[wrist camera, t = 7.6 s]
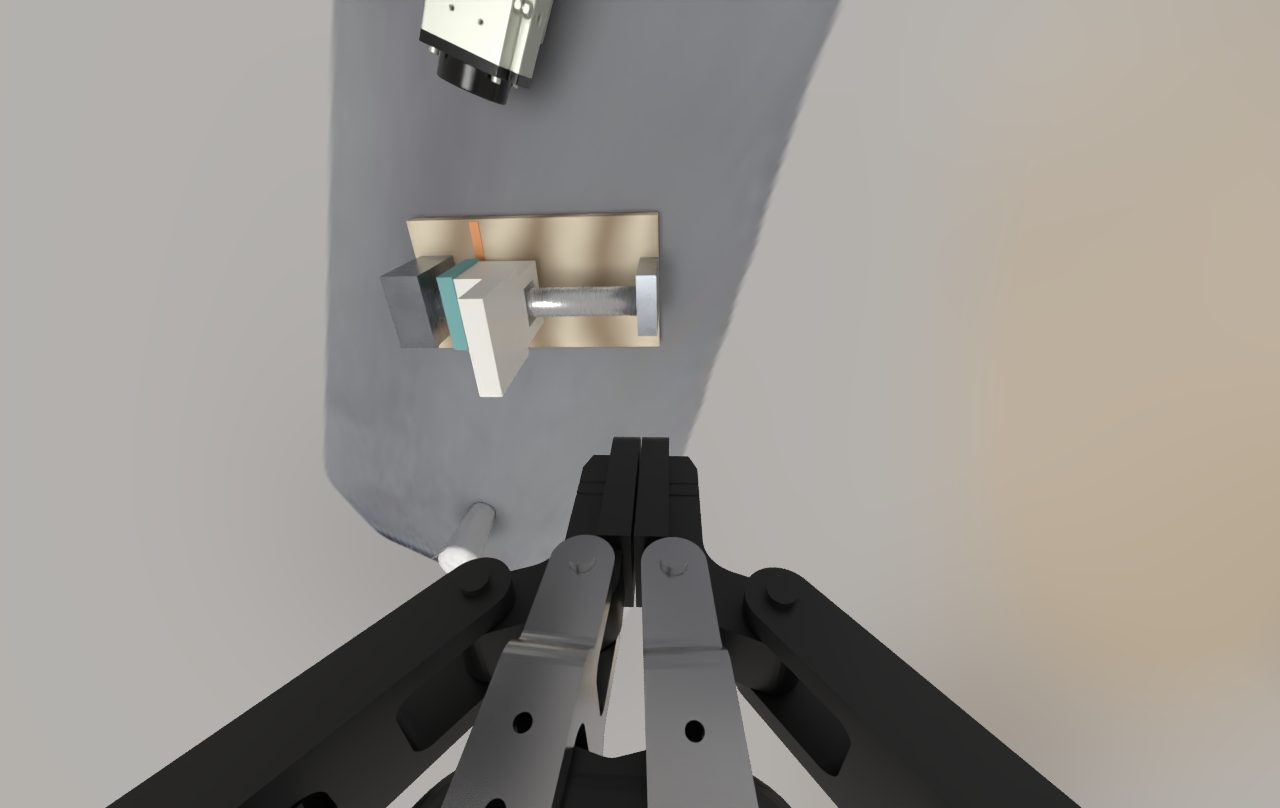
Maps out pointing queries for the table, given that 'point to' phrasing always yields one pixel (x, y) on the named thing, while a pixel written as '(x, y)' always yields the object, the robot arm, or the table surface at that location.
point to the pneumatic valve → (486, 42)
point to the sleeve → (497, 320)
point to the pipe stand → (540, 276)
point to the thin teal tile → (454, 303)
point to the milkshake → (468, 538)
